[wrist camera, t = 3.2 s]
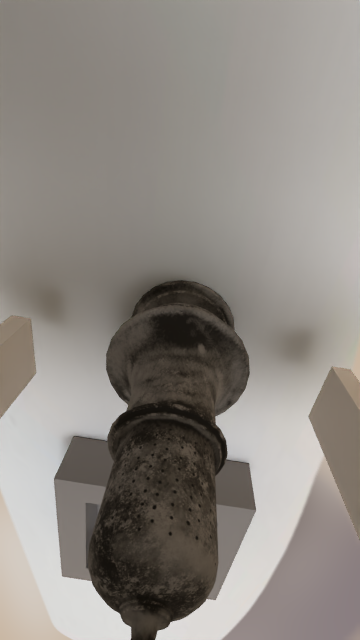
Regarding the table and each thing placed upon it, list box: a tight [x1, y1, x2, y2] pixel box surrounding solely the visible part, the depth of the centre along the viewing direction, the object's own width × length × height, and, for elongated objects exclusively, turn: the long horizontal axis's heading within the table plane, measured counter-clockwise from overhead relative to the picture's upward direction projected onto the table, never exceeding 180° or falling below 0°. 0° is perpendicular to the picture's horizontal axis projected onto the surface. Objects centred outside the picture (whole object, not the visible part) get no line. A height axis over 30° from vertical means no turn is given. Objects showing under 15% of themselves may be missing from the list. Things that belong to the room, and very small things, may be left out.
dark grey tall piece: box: [88, 280, 250, 640], centre depth 10 cm, size 6×6×12 cm
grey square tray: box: [54, 436, 256, 600], centre depth 21 cm, size 12×12×3 cm
